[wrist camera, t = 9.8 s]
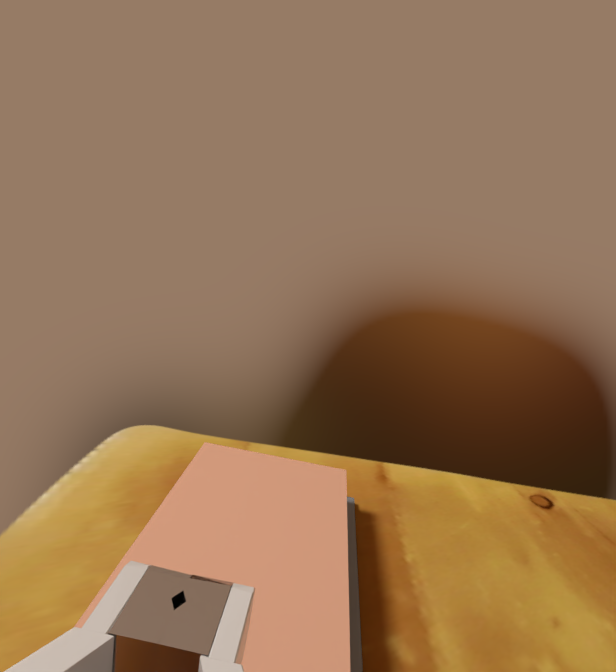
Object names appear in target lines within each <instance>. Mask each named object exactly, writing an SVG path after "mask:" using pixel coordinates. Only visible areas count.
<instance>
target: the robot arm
mask: <svg viewBox="0 0 616 672" xmlns="http://www.w3.org/2000/svg"><path fill="white" fill-rule="evenodd" d="M254 594H255V588H254V587H250V586H245V585H240V584H236V583H232V582H227V581H222V580H217V579H213V578H208V577H203V576H198V575H189V574H185V573H181V572H177V571H173V570H169V569H165V568H161V567H157V566H153V565H148V564H144V563H139V562H135V561H130V562H129V563H127V564H126V565H125V566H124V567H123V569H122V570H121V572H120V573H119V575H118V576H117V577H116V579H115V580H114V582H113V583H112V585H111V586H110V588H109V589H108V590H107V592H106V593H105V595H104V596H103V598H102V599H101V601H100V602H99V603H98V605H97V606H96V608H95V609H94V611H93V612H92V614H91V615H90V616H89V618H88V619H87V621H86V622H85V624H84V625H83V627H82V628H78V627H74V628H72V629H71V630H69V631H67V632H66V633H64V634H63V635H61V636H59V637H58V638H56V639H55V640H53V641H52V642H50V643H48V644H47V645H45V646H44V647H42V648H40V649H39V650H37V651H36V652H34V653H33V654H31V655H29V656H28V657H26V658H25V659H23V660H22V661H20V662H18V663H17V664H15V665H14V666H12V667H10V668H9V669H7V670H6V671H4V672H244V669H243V666H242V665H241V663H242V659H243V655H244V650H245V645H246V640H247V635H248V629H249V624H250V618H251V612H252V606H253V600H254Z"/></svg>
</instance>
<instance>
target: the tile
mask: <svg viewBox="0 0 616 672" xmlns="http://www.w3.org/2000/svg"><path fill="white" fill-rule="evenodd" d="M130 561H135V562H139V563H144V564H148V565H153V566H157V567H161V568H165V569H169V570H173V571H177V572H181V573H185V574H189V575H198V576H203V577H208V578H213V579H217V580H222V581H227V582H232V583H236V584H240V585H245V586H250V587H254V588H255V594H254V600H253V606H252V612H251V618H250V624H249V629H248V635H247V640H246V645H245V650H244V655H243V659H242V663H241V665H242V666H243V669H244V672H350V625H349V577H348V529H347V481H346V470H343V469H338V468H333V467H328V466H322V465H317V464H312V463H307V462H302V461H297V460H292V459H287V458H282V457H277V456H272V455H267V454H262V453H257V452H252V451H246V450H241V449H236V448H231V447H226V446H221V445H216V444H211V443H206V442H205V443H204V444H203V446H202V447H201V449H200V450H199V451H198V453H197V454H196V456H195V457H194V459H193V460H192V461H191V463H190V464H189V466H188V467H187V468H186V470H185V471H184V473H183V474H182V475H181V477H180V478H179V480H178V481H177V483H176V484H175V485H174V487H173V488H172V490H171V491H170V492H169V494H168V495H167V497H166V498H165V499H164V501H163V502H162V504H161V505H160V507H159V508H158V509H157V511H156V512H155V514H154V515H153V516H152V518H151V519H150V521H149V522H148V523H147V525H146V526H145V528H144V529H143V530H142V532H141V533H140V535H139V536H138V538H137V539H136V540H135V542H134V543H133V545H132V546H131V547H130V549H129V550H128V552H127V553H126V554H125V556H124V557H123V559H122V560H121V562H120V563H119V564H118V566H117V567H116V569H115V570H114V571H113V573H112V574H111V576H110V577H109V578H108V580H107V581H106V583H105V584H104V586H103V587H102V588H101V590H100V591H99V593H98V594H97V595H96V597H95V598H94V600H93V601H92V602H91V604H90V605H89V607H88V608H87V610H86V611H85V612H84V614H83V615H82V617H81V618H80V619H79V621H78V622H77V624H76V625H75V626H74V627H78V628H82V627H83V625H84V624H85V622H86V621H87V619H88V618H89V616H90V615H91V614H92V612H93V611H94V609H95V608H96V606H97V605H98V603H99V602H100V601H101V599H102V598H103V596H104V595H105V593H106V592H107V590H108V589H109V588H110V586H111V585H112V583H113V582H114V580H115V579H116V577H117V576H118V575H119V573H120V572H121V570H122V569H123V567H124V566H125V565H126V564H127V563H129V562H130Z"/></svg>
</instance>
